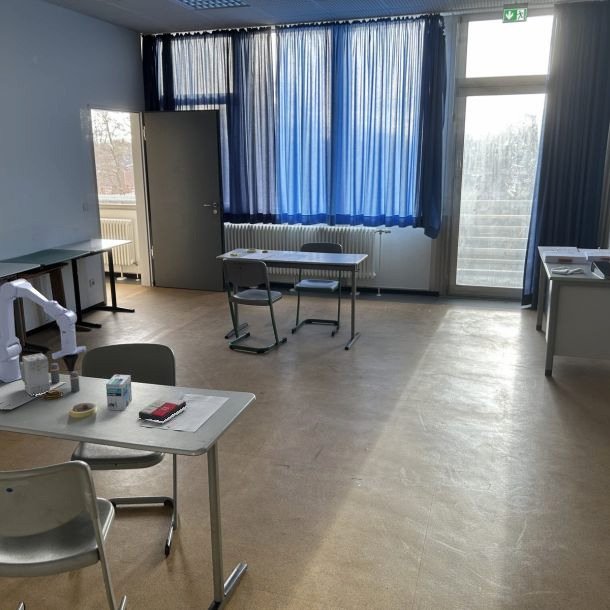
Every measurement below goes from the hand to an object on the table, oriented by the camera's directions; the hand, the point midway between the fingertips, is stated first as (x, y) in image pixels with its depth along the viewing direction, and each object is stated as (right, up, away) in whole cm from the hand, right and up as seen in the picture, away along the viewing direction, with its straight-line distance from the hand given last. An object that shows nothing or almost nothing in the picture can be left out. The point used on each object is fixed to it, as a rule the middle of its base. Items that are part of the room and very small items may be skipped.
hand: (70, 371), depth 254 cm
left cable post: (-8, -5, +4) cm, 10 cm away
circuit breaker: (-12, -7, -5) cm, 15 cm away
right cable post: (+4, -7, -5) cm, 10 cm away
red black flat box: (+45, -14, -25) cm, 53 cm away
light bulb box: (+26, -11, -18) cm, 34 cm away
